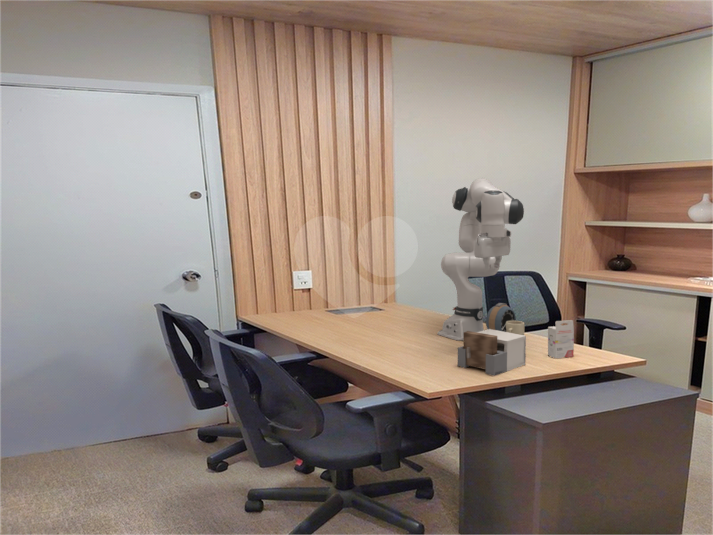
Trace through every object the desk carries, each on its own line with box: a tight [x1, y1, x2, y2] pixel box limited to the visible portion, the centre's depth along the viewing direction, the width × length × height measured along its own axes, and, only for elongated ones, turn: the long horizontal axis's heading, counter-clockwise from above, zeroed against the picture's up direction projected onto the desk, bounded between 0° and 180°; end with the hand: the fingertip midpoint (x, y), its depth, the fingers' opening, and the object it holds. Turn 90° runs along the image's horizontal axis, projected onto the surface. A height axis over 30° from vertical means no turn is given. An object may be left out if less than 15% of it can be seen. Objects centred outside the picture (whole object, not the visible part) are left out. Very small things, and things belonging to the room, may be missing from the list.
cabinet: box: [457, 328, 527, 377], centre depth 189 cm, size 16×20×11 cm
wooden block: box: [462, 331, 497, 370], centre depth 184 cm, size 12×4×12 cm, turn 46°
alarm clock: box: [485, 302, 517, 332], centre depth 222 cm, size 14×10×18 cm
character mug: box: [506, 320, 525, 335], centre depth 204 cm, size 11×7×13 cm, turn 138°
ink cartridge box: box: [547, 319, 575, 359], centre depth 200 cm, size 9×5×15 cm, turn 105°
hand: (492, 268), depth 198 cm, fingers open, 5 cm apart
